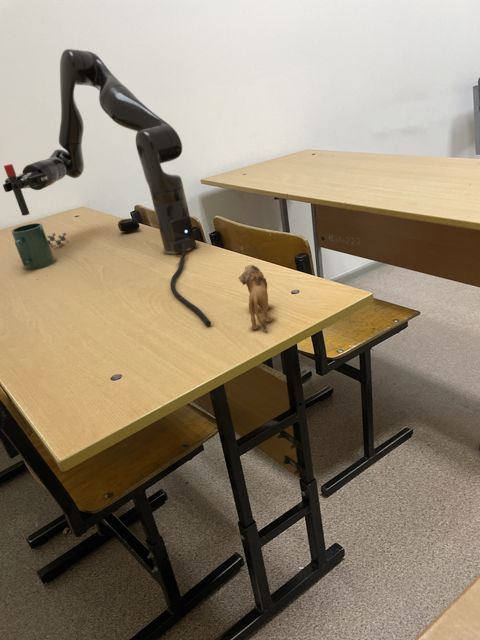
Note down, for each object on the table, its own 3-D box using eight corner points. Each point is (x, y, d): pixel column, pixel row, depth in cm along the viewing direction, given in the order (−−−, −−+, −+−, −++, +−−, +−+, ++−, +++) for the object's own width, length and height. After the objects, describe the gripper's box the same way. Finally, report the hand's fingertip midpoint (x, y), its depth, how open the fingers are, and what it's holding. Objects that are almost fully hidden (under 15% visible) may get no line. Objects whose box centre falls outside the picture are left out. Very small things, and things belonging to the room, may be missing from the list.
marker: (30, 214, 154) (13, 164, 147) (22, 216, 153) (4, 166, 146) (29, 212, 156) (11, 163, 149) (21, 215, 155) (2, 165, 148)
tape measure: (140, 230, 178) (138, 220, 177) (121, 235, 177) (118, 224, 175) (138, 226, 184) (135, 216, 182) (119, 231, 183) (116, 220, 181)
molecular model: (31, 251, 177) (26, 236, 175) (38, 246, 181) (33, 232, 179) (67, 248, 174) (62, 233, 172) (73, 244, 177) (68, 229, 175)
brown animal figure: (242, 305, 111) (235, 265, 107) (267, 300, 112) (261, 260, 108) (253, 335, 99) (245, 290, 94) (281, 329, 99) (274, 284, 95)
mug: (33, 261, 166) (20, 225, 161) (59, 257, 165) (46, 221, 160) (14, 275, 155) (-1, 237, 150) (41, 272, 154) (27, 234, 149)
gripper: (17, 164, 162) (-18, 177, 148) (57, 159, 159) (26, 171, 145) (26, 189, 166) (-7, 203, 151) (65, 184, 163) (35, 198, 148)
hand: (9, 187), depth 148 cm, fingers closed on marker, 2 cm apart
